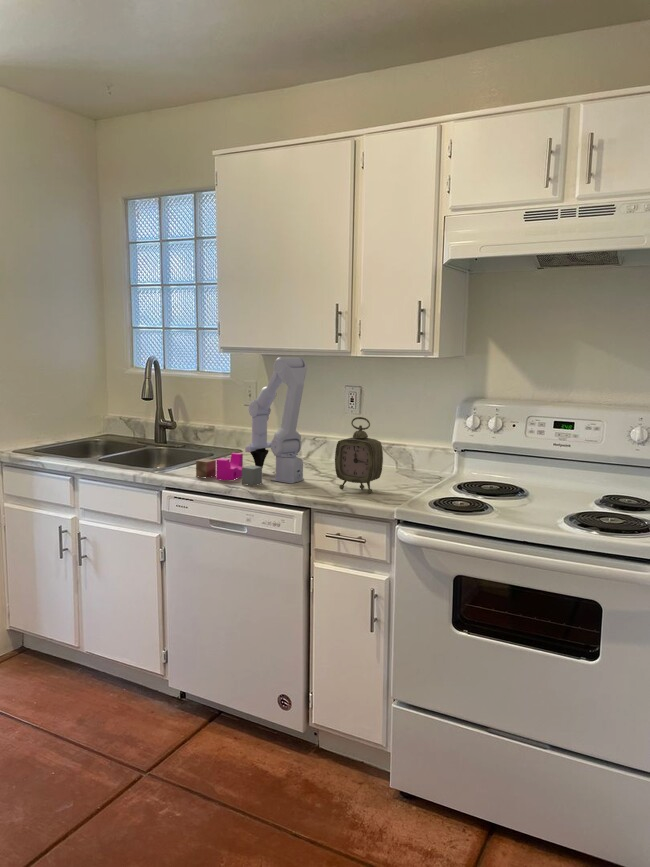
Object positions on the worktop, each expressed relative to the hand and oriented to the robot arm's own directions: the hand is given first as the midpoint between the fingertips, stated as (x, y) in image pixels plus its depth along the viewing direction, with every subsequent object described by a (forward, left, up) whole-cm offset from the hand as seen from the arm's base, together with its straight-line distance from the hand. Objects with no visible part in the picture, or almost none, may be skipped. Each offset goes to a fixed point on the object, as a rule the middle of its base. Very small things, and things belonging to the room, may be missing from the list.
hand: (259, 468), depth 252 cm
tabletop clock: (-45, +3, -2) cm, 45 cm away
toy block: (+3, +11, -2) cm, 12 cm away
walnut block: (+11, +17, -2) cm, 21 cm away
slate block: (-10, +17, -2) cm, 20 cm away
